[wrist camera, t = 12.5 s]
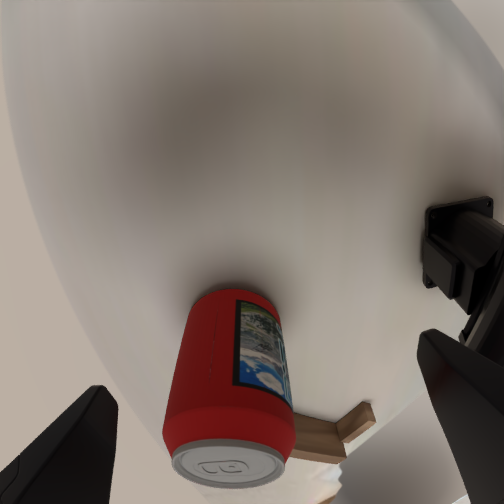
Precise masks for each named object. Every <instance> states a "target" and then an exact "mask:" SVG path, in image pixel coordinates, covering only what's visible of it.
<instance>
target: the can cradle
mask: <svg viewBox="0 0 504 504" xmlns="http://www.w3.org/2000/svg"><path fill="white" fill-rule="evenodd" d="M293 414H294V422H295V431H296V443H295V446H294V448H293V450H292V452H291V454H290V456H289V457H293V458H299V459H304V460H310V461H317V462H324V463H331V464H338V463H340V462H341V461H343V460H344V459H346V458H347V457H346V452H345V448H344V444H343V442H344V443H349V442H351V441H352V440H354V439H355V438H356V437H358V436H359V435H360V434H362V433H363V432H365V431H366V430H367V429H369V428H370V427H371V426H372V425H374V424H375V423H376V419H375V416H374V413H373V411H372V408H371V405H370V404H369V403H365V402H362V403H360V404H359V405H358V406H357V407H356V408H355V409H353V410H352V411H351V412H350V413H348V414H347V415H346V416H345V417H343V418H342V419H341V420H340V421H338V422H337V423H336V424H335V423H331V422H327V421H322V420H319V419H315V418H311V417H307V416H303V415H300V414H296V413H293Z"/></svg>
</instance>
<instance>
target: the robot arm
mask: <svg viewBox="0 0 504 504" xmlns="http://www.w3.org/2000/svg"><path fill="white" fill-rule="evenodd" d="M487 203H488V205H487ZM493 204H494V203H493V199H492V198H490V197H488V196H485V197H480V198H475V199H469V200H464V201H459V202H453V203H448V204H443V205H438V206H432V207H429V208H428V209H427V211H426V233H425V239H424V252H423V271H424V277H423V284H424V285H425V286H426V288H428V289H429V288H433V287H437V286H438V287H439V288H440V290H441V291H442V292H443V293H444V294H445V295H446V297H447V298H449V299H450V300H452V299H454V300H455V301H456V302H457V303H458V304H459V305H460V307H461V308H462V309H463V310H464V311H465V313H466V314H467V315H471V316H470V318H469V320H468V322H467V324H466V326H465V328H464V330H462V331H461V333H460V335H459V336H458V338H459V341H460V342H458V341H456V340H454V339H453V338H451V337H449V336H447V335H446V334H444V333H442V332H440V331H439V330H437V329H429V330H426V331H423V332H421V334H420V336H419V343H418V349H417V360H418V364H419V366H420V369H421V372H422V375H423V378H424V381H425V384H426V387H427V390H428V393H429V397H430V400H431V402H432V406H433V408H434V410H435V413H436V415H437V417H438V420H439V422H440V424H441V426H442V428H443V431H444V433H445V436H446V438H447V441H448V443H449V446H450V448H451V450H452V453H453V455H454V458H455V461H456V463H457V466H458V469H459V471H460V474H461V477H462V479H463V482H464V485H465V488H466V490H467V493H468V496H469V499H470V502H471V504H504V225H502V224H500V223H499V222H497V221H496V220H494V219H493ZM433 212H434V215H433V216H432V217H431V215H432V213H433ZM430 280H431V281H430ZM429 281H430V282H429ZM428 282H429V283H428ZM117 421H118V404H117V402H116V400H115V399H114V398H113V396H112V395H111V394H110V393H109V391H108V390H107V388H106V387H105V386H103V385H93V386H91V387H90V388H89V389H87V390H86V391H85V392H84V393H83V394H82V395H81V396H80V397H79V398H78V399H77V400H76V401H75V402H74V403H73V404H72V405H70V406H69V407H68V408H67V409H66V410H65V411H64V412H63V413H62V414H61V415H60V416H59V417H58V418H57V419H56V420H55V421H54V422H53V423H51V424H50V425H49V427H47V428H46V429H45V430H44V431H43V432H42V433H41V434H40V435H39V436H38V437H37V438H36V439H35V440H34V441H33V442H32V443H31V444H30V445H29V446H27V447H26V449H24V450H23V451H22V452H21V453H20V455H18V456H17V457H16V458H15V459H14V460H13V461H12V462H11V463H10V464H9V465H8V466H7V467H6V468H4V469H3V470H2V471H1V472H0V504H109V499H110V491H111V483H112V475H113V467H114V461H115V453H116V439H117Z"/></svg>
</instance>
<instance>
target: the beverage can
mask: <svg viewBox="0 0 504 504" xmlns="http://www.w3.org/2000/svg"><path fill="white" fill-rule="evenodd" d="M162 434H163V439H164V442H165V444H166V447H167V449H168V451H169V454H170V456H171V458H172V467H173V468H174V470H175V471H176V472H177V473H178V474H179V475H181V476H182V477H184V478H185V479H187V480H189V481H192V482H194V483H197V484H200V485H204V486H209V487H214V488H222V489H244V488H253V487H258V486H262V485H265V484H268V483H270V482H272V481H275V480H276V479H278V478H279V477H280V476H281V475H282V474H283V473H284V470H285V463H286V461H287V459H288V458H289V456H290V454H291V452H292V450H293V448H294V446H295V443H296V431H295V422H294V414H293V405H292V397H291V390H290V382H289V375H288V368H287V361H286V354H285V347H284V341H283V335H282V329H281V323H280V318H279V315H278V313H277V311H276V310H275V308H274V307H273V306H272V305H271V304H270V303H269V302H268V301H267V300H266V299H264V298H263V297H261V296H260V295H258V294H255V293H253V292H250V291H246V290H241V289H224V290H219V291H215V292H212V293H210V294H208V295H206V296H204V297H203V298H201V299H200V300H199V301H198V302H197V303H196V304H195V305H194V306H193V307H192V309H191V311H190V313H189V316H188V319H187V323H186V327H185V330H184V334H183V338H182V342H181V346H180V350H179V354H178V359H177V363H176V367H175V372H174V376H173V381H172V385H171V390H170V394H169V399H168V404H167V409H166V414H165V420H164V425H163V431H162Z"/></svg>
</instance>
